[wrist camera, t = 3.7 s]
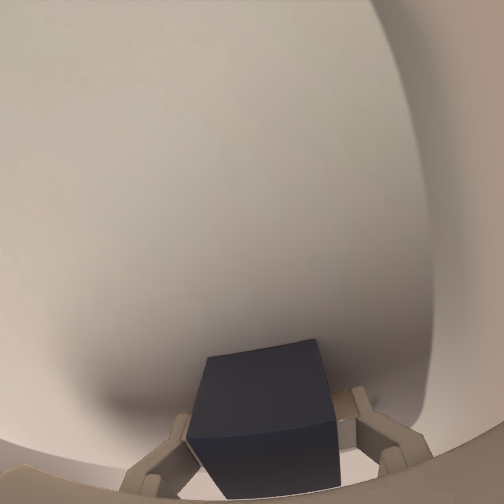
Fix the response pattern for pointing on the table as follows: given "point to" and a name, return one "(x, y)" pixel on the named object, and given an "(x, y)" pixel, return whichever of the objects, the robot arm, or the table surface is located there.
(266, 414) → the block
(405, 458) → the robot arm
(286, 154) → the table surface
